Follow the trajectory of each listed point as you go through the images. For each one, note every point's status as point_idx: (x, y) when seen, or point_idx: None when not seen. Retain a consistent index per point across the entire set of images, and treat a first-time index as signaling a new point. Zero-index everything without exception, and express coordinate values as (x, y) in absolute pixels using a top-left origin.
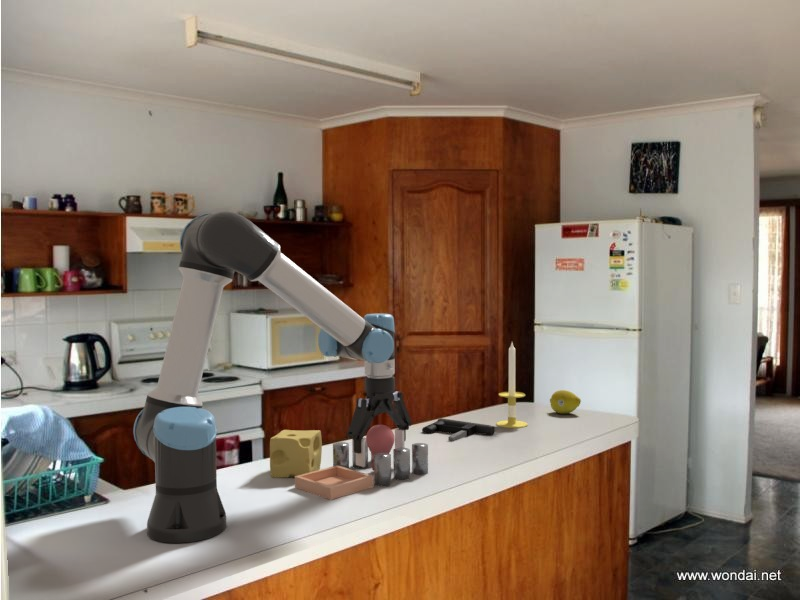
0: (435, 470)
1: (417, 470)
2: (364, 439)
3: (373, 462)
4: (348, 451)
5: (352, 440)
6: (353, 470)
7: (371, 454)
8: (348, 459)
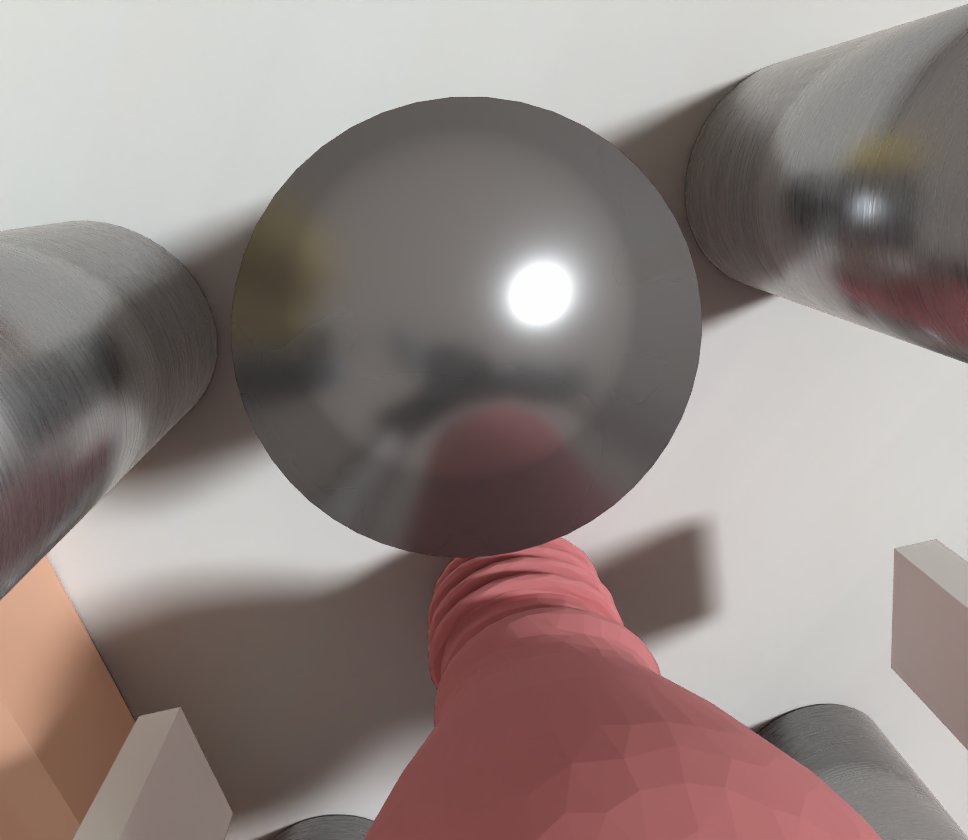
0: (958, 763)
1: None
2: (579, 419)
3: (443, 663)
4: (48, 550)
5: (237, 290)
6: (58, 810)
7: (738, 162)
8: (116, 483)
